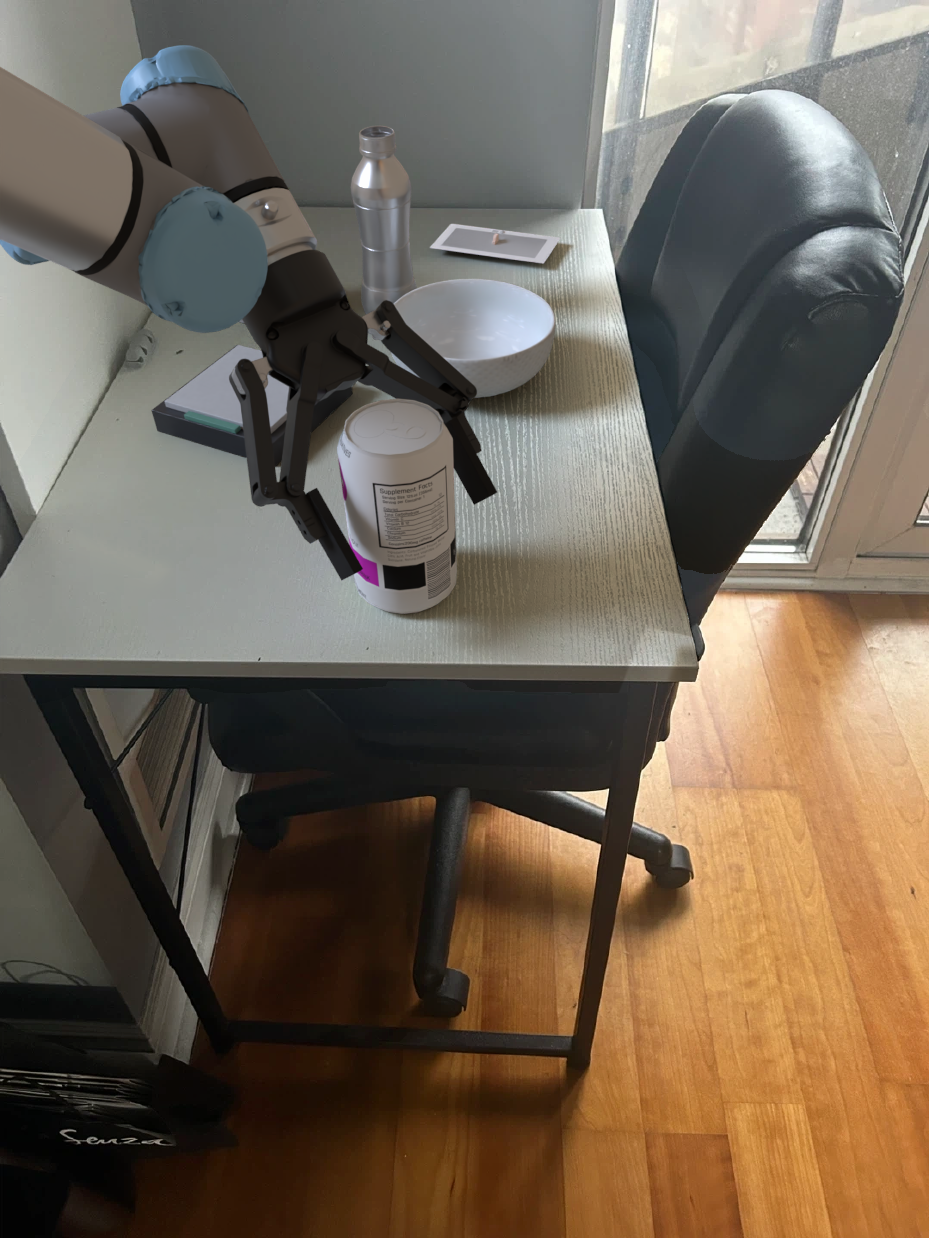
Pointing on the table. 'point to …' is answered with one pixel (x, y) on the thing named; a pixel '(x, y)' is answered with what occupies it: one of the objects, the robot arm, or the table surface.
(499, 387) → the cereal bowl
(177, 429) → the scale
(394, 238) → the silver metal bottle
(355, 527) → the supplement can
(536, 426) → the table surface
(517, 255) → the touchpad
